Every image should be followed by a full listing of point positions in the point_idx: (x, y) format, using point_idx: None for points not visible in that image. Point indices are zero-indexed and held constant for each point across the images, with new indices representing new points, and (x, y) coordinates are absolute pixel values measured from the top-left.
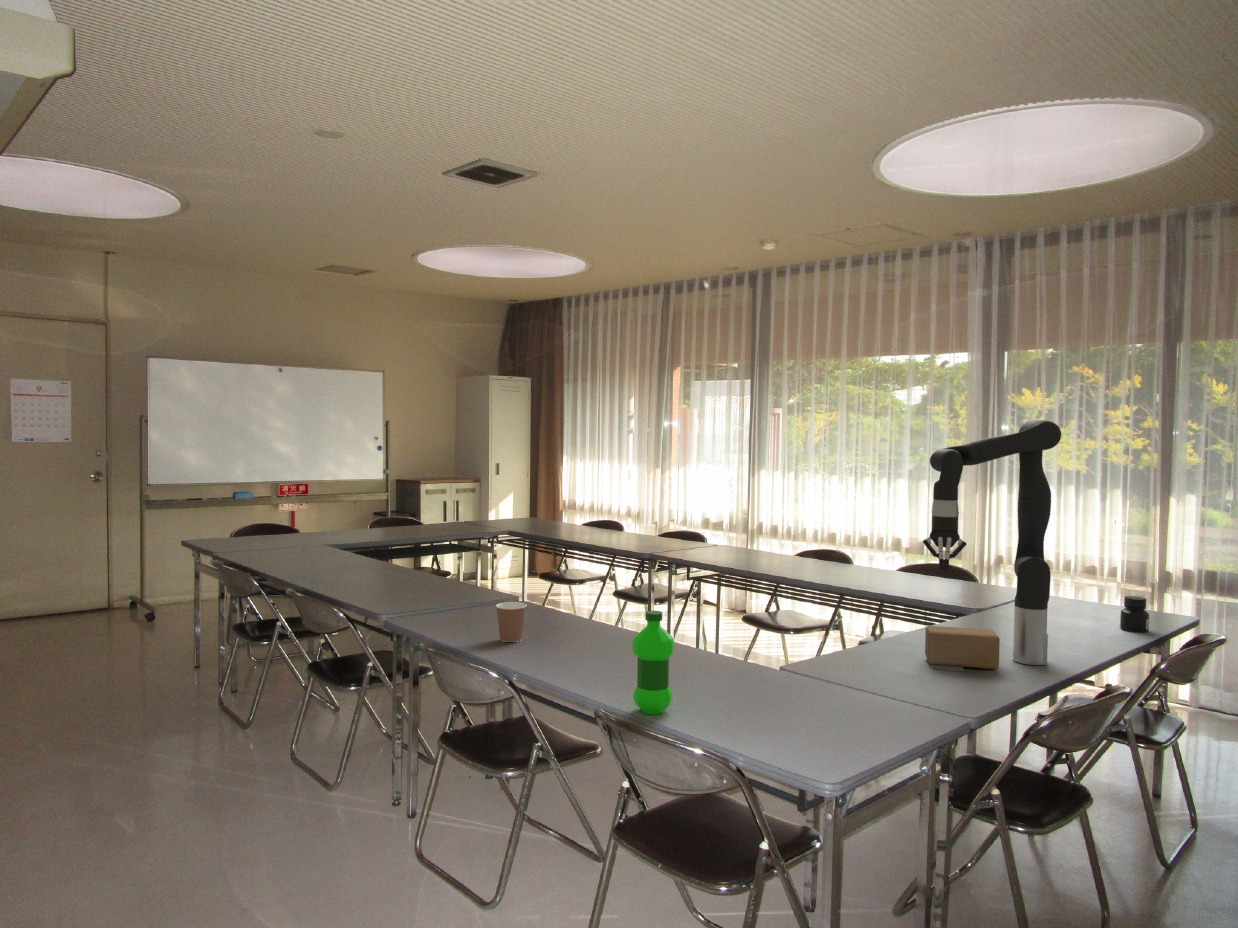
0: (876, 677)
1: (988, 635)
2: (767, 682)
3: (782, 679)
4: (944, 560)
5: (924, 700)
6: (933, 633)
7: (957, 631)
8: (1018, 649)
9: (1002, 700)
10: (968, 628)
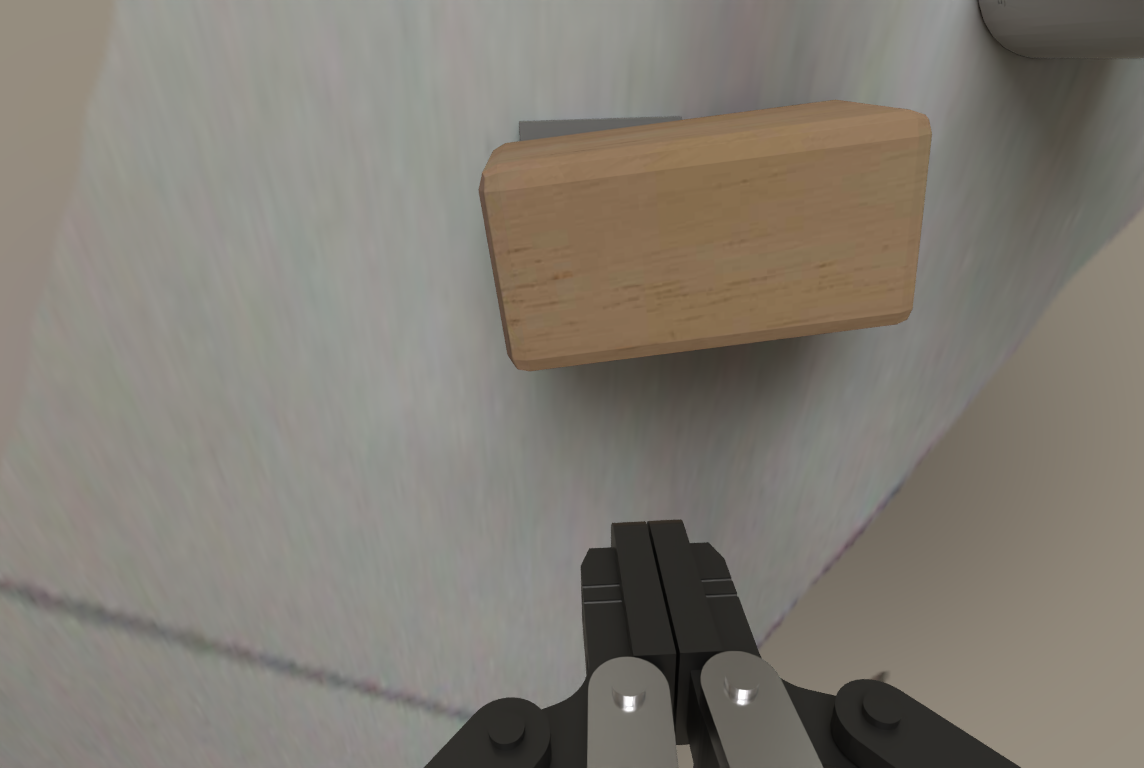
0: (338, 542)
1: (855, 318)
2: (27, 718)
3: (51, 678)
4: (674, 728)
5: (524, 691)
6: (535, 369)
7: (680, 293)
8: (1036, 24)
9: (759, 611)
10: (765, 165)
